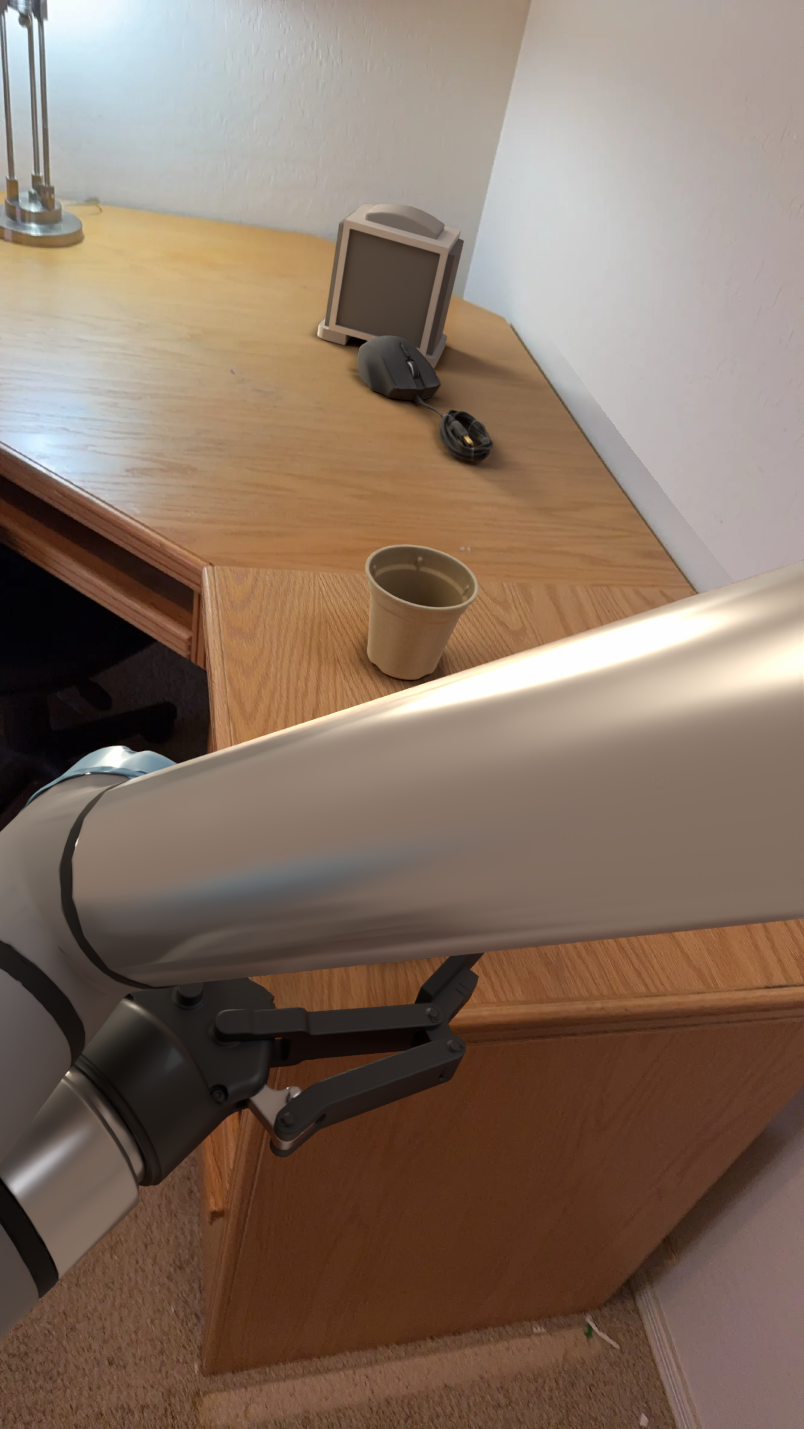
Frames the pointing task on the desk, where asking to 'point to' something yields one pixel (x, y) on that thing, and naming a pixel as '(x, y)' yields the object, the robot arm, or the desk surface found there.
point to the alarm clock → (392, 278)
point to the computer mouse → (419, 391)
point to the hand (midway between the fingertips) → (397, 859)
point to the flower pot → (414, 607)
